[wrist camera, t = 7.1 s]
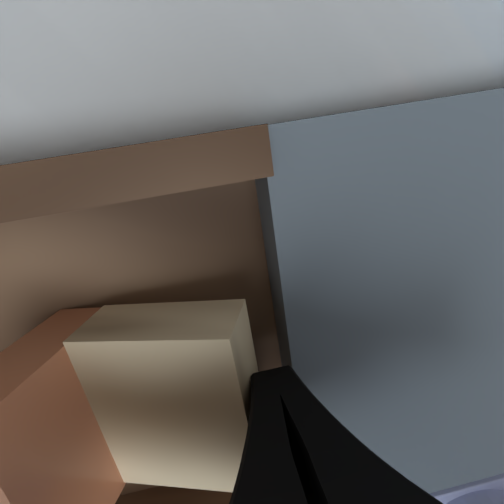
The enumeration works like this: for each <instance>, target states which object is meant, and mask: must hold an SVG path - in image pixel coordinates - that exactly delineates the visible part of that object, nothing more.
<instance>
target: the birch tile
mask: <svg viewBox="0 0 504 504" xmlns="http://www.w3.org/2000/svg"><path fill="white" fill-rule="evenodd" d="M63 345H64V347H65V349H66V351H67V354H68V356H69V358H70V361H71V363H72V365H73V367H74V370H75V372H76V374H77V377H78V379H79V381H80V383H81V386H82V388H83V390H84V393H85V395H86V397H87V399H88V402H89V404H90V406H91V408H92V411H93V413H94V415H95V418H96V420H97V422H98V424H99V427H100V429H101V431H102V434H103V436H104V438H105V440H106V443H107V445H108V447H109V450H110V452H111V454H112V456H113V459H114V461H115V463H116V465H117V468H118V470H119V472H120V475H121V477H122V479H123V481H124V482H126V483H136V484H147V485H158V486H169V487H180V488H190V489H201V490H212V491H223V492H233V489H234V485H235V482H236V478H237V474H238V470H239V467H240V462H241V458H242V453H243V448H244V444H245V439H246V434H247V428H248V421H249V414H250V405H251V375H252V374H253V373H256V372H258V366H257V361H256V355H255V350H254V344H253V339H252V334H251V328H250V323H249V317H248V312H247V306H246V301H245V299H231V300H209V301H187V302H165V303H143V304H120V305H104V306H103V307H101V308H100V309H99V310H98V311H97V312H96V313H95V314H94V315H92V316H91V317H90V318H89V319H88V320H87V321H86V322H85V323H83V324H82V325H81V326H80V327H79V328H78V329H77V330H76V331H74V332H73V333H72V334H71V335H70V336H69V337H68V338H67V339H65V340H64V341H63Z"/></svg>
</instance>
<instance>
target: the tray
mask: <svg viewBox="0 0 504 504" xmlns="http://www.w3.org/2000/svg"><path fill="white" fill-rule="evenodd" d="M272 176H274V170H273V162H272V154H271V146H270V138H269V130H268V124H262V125H255V126H249V127H243V128H236V129H230V130H223V131H217V132H211V133H204V134H198V135H192V136H185V137H179V138H172V139H166V140H160V141H153V142H147V143H141V144H134V145H128V146H121V147H115V148H109V149H102V150H96V151H90V152H83V153H77V154H71V155H64V156H58V157H51V158H45V159H39V160H32V161H26V162H20V163H13V164H7V165H0V352H2V351H3V350H4V349H6V348H7V347H9V346H10V345H11V344H13V343H14V342H16V341H17V340H18V339H20V338H21V337H23V336H24V335H25V334H27V333H28V332H30V331H31V330H32V329H34V328H35V327H37V326H38V325H39V324H41V323H42V322H44V321H45V320H46V319H48V318H49V317H51V316H52V315H53V314H55V313H56V312H58V311H59V310H60V309H76V308H99V307H103V306H104V305H120V304H143V303H165V302H187V301H209V300H231V299H245V301H246V306H247V312H248V317H249V323H250V328H251V334H252V339H253V344H254V350H255V355H256V361H257V366H258V372H260V371H265V370H269V369H273V368H278V367H282V363H281V356H280V349H279V342H278V335H277V329H276V322H275V315H274V308H273V301H272V294H271V287H270V280H269V273H268V267H267V260H266V253H265V246H264V239H263V232H262V225H261V218H260V211H259V205H258V198H257V191H256V184H255V179H261V178H266V177H272ZM231 496H232V492H223V491H212V490H201V489H190V488H180V487H169V486H158V485H147V484H136V483H126V484H125V486H124V488H123V490H122V492H121V494H120V495H119V497H118V499H117V501H116V503H115V504H229V502H230V499H231Z"/></svg>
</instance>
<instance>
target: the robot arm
mask: <svg viewBox="0 0 504 504" xmlns="http://www.w3.org/2000/svg"><path fill="white" fill-rule="evenodd" d="M229 504H504V473H503V474H499V475H495V476H492V477H488V478H484V479H481V480H477V481H473V482H470V483H466V484H462V485H459V486H455V487H451V488H448V489H444V490H440V491H437V492H433V493H427V492H426V491H424V490H423V489H421V488H420V487H419V486H417V485H416V484H414V483H413V482H411V481H410V480H408V479H407V478H406V477H404V476H403V475H402V474H400V473H399V472H398V471H397V470H395V469H394V468H393V467H391V466H390V465H389V464H387V463H386V462H385V461H384V460H382V459H381V458H380V457H379V456H377V455H376V454H375V453H374V452H373V451H371V450H370V449H369V448H368V447H367V446H365V445H364V444H363V443H362V442H361V441H360V440H359V439H358V438H356V437H355V436H354V435H353V434H352V433H351V432H350V431H349V430H348V429H347V428H346V427H345V426H343V425H342V424H341V423H340V422H339V421H338V420H337V419H336V418H335V417H334V416H333V415H332V414H331V413H330V412H329V411H328V410H327V409H326V407H325V406H324V405H323V404H322V403H321V402H320V401H319V400H318V399H317V398H316V397H315V396H314V395H313V393H312V392H311V391H310V390H309V389H308V388H307V386H306V385H305V384H304V383H303V382H302V380H301V379H300V378H299V376H298V375H297V374H296V372H295V371H294V370H293V368H292V367H291V366H289V365H287V366H282V367H278V368H273V369H269V370H265V371H260V372H256V373H253V374H252V375H251V405H250V414H249V421H248V428H247V434H246V439H245V444H244V448H243V453H242V458H241V462H240V467H239V470H238V474H237V478H236V482H235V485H234V489H233V492H232V496H231V499H230V502H229Z"/></svg>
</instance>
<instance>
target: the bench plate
mask: <svg viewBox="0 0 504 504" xmlns="http://www.w3.org/2000/svg"><path fill="white" fill-rule="evenodd" d="M268 130H269V138H270V146H271V154H272V162H273V170H274V176H272V177H266V178H261V179H255V184H256V191H257V198H258V205H259V211H260V218H261V225H262V232H263V239H264V246H265V253H266V260H267V267H268V273H269V280H270V287H271V294H272V301H273V308H274V315H275V322H276V329H277V335H278V342H279V349H280V356H281V363H282V366H287V365H289V366H291V367H292V368H293V370H294V371H295V372H296V374H297V375H298V376H299V378H300V379H301V380H302V382H303V383H304V384H305V385H306V386H307V388H308V389H309V390H310V391H311V392H312V393H313V395H314V396H315V397H316V398H317V399H318V400H319V401H320V402H321V403H322V404H323V405H324V406H325V407H326V409H327V410H328V411H329V412H330V413H331V414H332V415H333V416H334V417H335V418H336V419H337V420H338V421H339V422H340V423H341V424H342V425H343V426H345V427H346V428H347V429H348V430H349V431H350V432H351V433H352V434H353V435H354V436H355V437H356V438H358V439H359V440H360V441H361V442H362V443H363V444H364V445H365V446H367V447H368V448H369V449H370V450H371V451H373V452H374V453H375V454H376V455H377V456H379V457H380V458H381V459H382V460H384V461H385V462H386V463H387V464H389V465H390V466H391V467H393V468H394V469H395V470H397V471H398V472H399V473H400V474H402V475H403V476H404V477H406V478H407V479H408V480H410V481H411V482H413V483H414V484H416V485H417V486H419V487H420V488H421V489H423V490H424V491H426V492H427V493H433V492H437V491H440V490H444V489H448V488H451V487H455V486H459V485H462V484H466V483H470V482H473V481H477V480H481V479H484V478H488V477H492V476H495V475H499V474H503V473H504V88H499V89H492V90H486V91H479V92H473V93H467V94H460V95H454V96H448V97H441V98H435V99H429V100H422V101H416V102H410V103H403V104H397V105H390V106H384V107H378V108H371V109H365V110H359V111H352V112H346V113H340V114H333V115H327V116H321V117H314V118H308V119H301V120H295V121H289V122H282V123H276V124H270V125H268Z"/></svg>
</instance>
